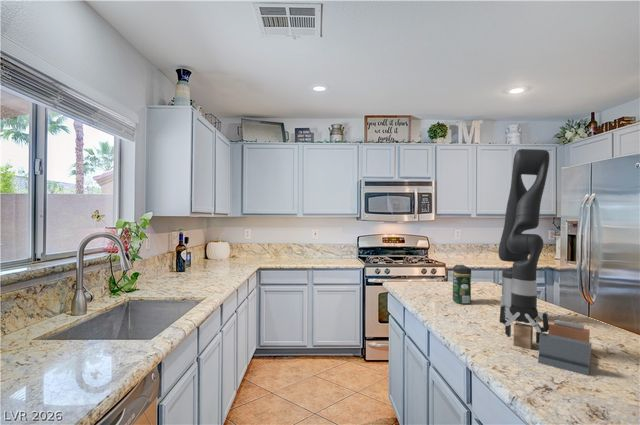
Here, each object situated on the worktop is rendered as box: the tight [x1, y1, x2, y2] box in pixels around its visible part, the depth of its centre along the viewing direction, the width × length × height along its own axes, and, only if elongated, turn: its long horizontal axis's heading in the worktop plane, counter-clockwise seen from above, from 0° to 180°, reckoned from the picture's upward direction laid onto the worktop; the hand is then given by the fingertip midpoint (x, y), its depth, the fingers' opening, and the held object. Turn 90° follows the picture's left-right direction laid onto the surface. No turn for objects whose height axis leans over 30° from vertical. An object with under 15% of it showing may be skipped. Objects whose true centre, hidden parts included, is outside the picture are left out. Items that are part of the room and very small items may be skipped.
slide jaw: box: [547, 319, 591, 342], centre depth 115 cm, size 11×3×6 cm, turn 50°
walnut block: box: [513, 321, 534, 351], centre depth 117 cm, size 5×4×7 cm
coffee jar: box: [452, 264, 472, 305], centre depth 172 cm, size 10×8×19 cm
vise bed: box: [537, 332, 592, 376], centre depth 109 cm, size 12×24×8 cm, turn 140°
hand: (523, 339), depth 117 cm, fingers open, 8 cm apart
